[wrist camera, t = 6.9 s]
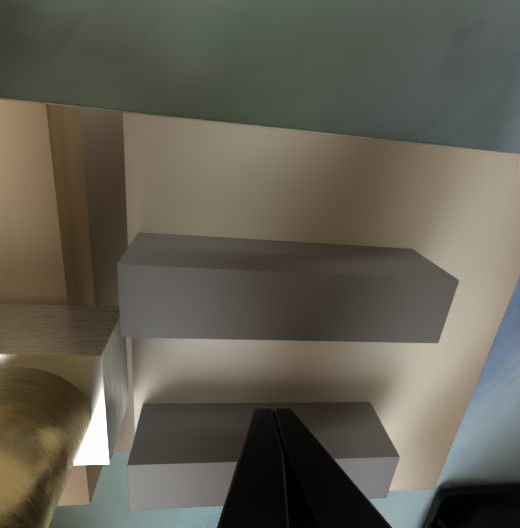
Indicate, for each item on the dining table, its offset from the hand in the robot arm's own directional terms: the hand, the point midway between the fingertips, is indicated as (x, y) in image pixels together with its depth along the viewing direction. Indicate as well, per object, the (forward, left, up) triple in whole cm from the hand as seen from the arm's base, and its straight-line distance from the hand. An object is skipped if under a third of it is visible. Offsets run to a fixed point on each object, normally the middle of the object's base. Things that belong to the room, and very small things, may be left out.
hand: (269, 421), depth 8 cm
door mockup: (+4, 0, -6) cm, 7 cm away
